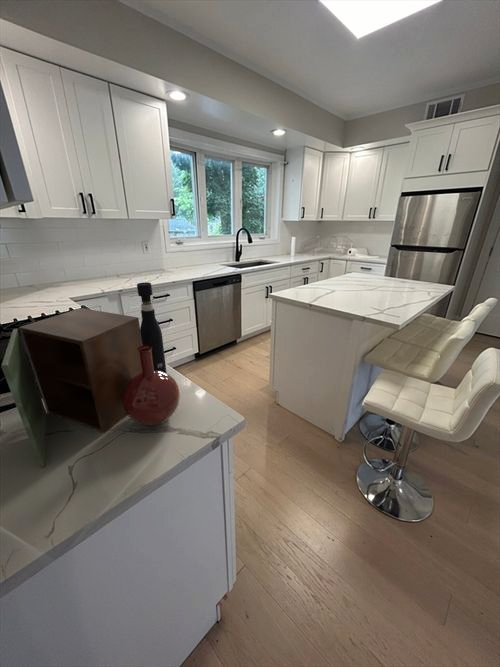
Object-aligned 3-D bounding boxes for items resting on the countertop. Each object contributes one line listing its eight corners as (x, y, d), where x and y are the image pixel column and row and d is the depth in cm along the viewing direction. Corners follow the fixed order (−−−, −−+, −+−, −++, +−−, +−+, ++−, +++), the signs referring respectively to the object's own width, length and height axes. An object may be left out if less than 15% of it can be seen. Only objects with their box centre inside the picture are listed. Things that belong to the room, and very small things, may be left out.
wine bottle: (151, 369, 93) (139, 280, 81) (170, 371, 92) (159, 281, 81) (142, 379, 87) (127, 285, 76) (161, 381, 86) (149, 286, 75)
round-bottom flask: (165, 442, 63) (154, 365, 55) (115, 432, 66) (98, 357, 58) (190, 407, 75) (184, 339, 67) (147, 399, 78) (137, 334, 70)
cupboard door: (0, 483, 53) (-51, 376, 44) (11, 423, 68) (-25, 334, 59) (45, 466, 56) (7, 364, 47) (46, 413, 72) (17, 328, 63)
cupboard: (104, 433, 65) (82, 341, 56) (47, 412, 72) (18, 327, 63) (150, 396, 79) (138, 317, 70) (98, 381, 86) (81, 307, 77)
